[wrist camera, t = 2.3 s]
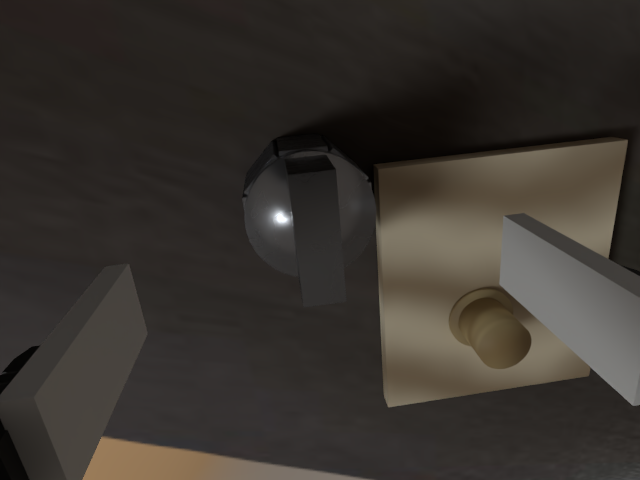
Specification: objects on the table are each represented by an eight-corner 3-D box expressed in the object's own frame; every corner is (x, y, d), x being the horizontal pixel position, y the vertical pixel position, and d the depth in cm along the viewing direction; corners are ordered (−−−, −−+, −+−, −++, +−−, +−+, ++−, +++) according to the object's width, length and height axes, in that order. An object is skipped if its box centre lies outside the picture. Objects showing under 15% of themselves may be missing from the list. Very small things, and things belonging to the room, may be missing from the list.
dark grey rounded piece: (240, 141, 23) (229, 176, 16) (353, 129, 24) (391, 157, 17) (256, 247, 26) (253, 318, 18) (359, 233, 26) (395, 299, 19)
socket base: (373, 164, 25) (394, 184, 21) (612, 136, 26) (677, 150, 22) (383, 394, 31) (402, 445, 27) (577, 365, 32) (623, 409, 28)
